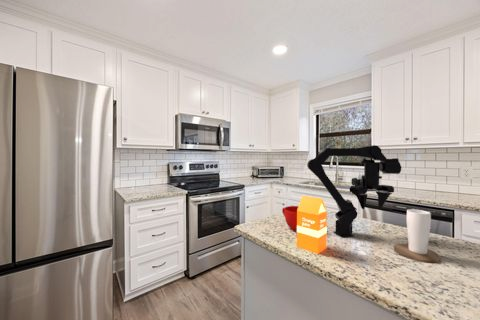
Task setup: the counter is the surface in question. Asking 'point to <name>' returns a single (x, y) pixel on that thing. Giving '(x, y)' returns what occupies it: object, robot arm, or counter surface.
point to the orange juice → (311, 224)
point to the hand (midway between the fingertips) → (371, 208)
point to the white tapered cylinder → (418, 230)
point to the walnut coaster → (404, 251)
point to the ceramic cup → (291, 216)
